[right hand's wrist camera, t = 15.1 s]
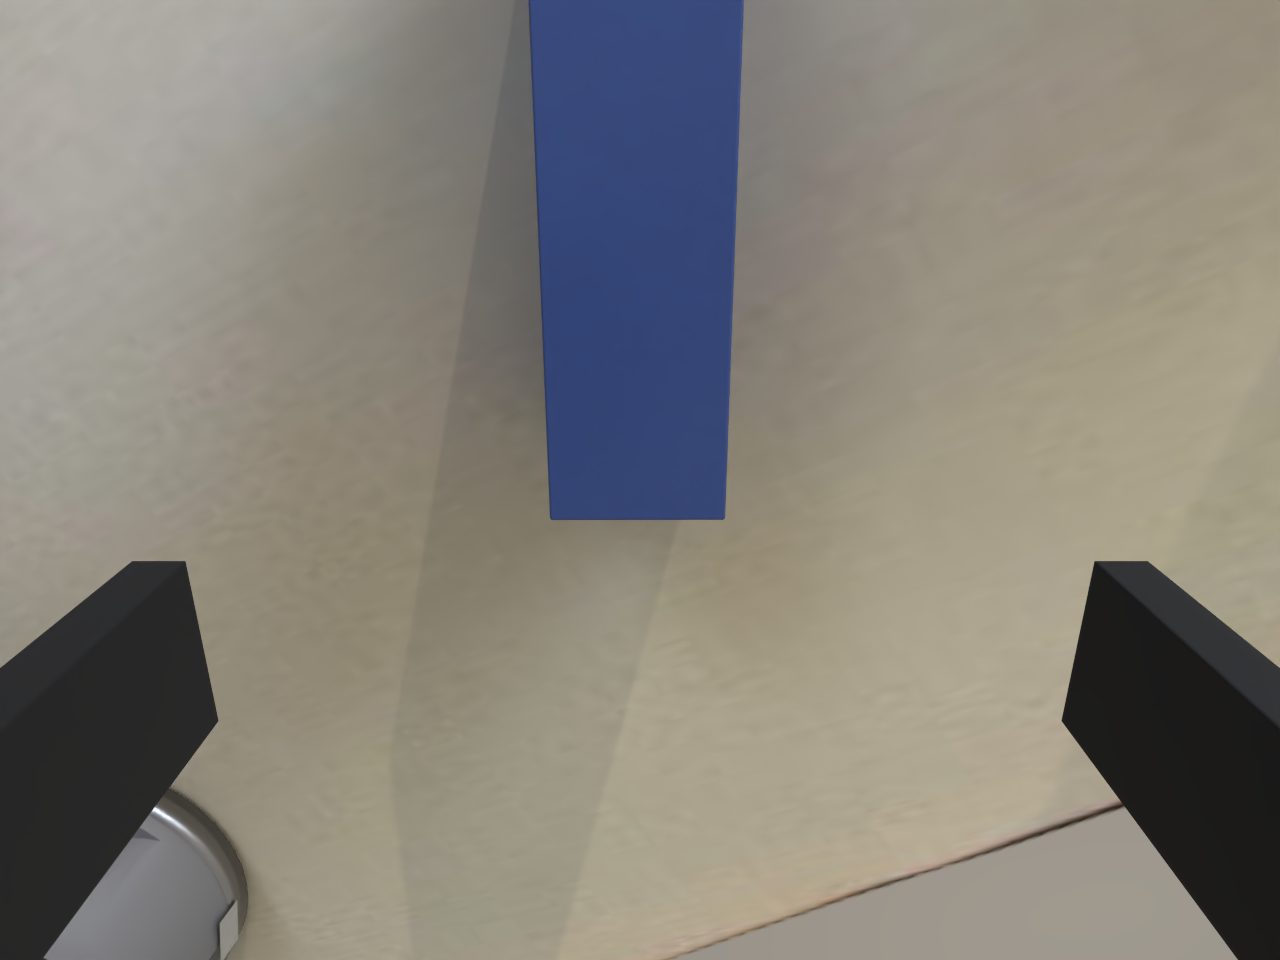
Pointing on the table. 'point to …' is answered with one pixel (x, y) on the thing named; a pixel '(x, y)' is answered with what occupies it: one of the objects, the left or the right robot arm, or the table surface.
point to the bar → (636, 250)
